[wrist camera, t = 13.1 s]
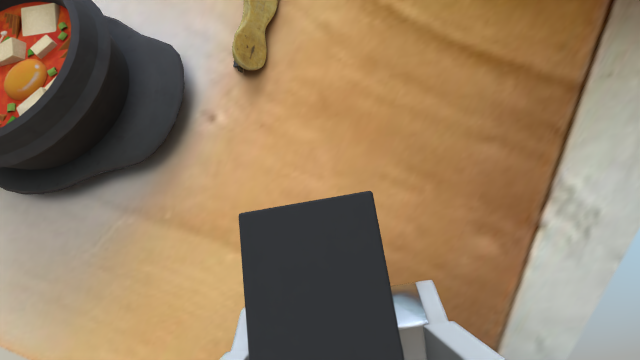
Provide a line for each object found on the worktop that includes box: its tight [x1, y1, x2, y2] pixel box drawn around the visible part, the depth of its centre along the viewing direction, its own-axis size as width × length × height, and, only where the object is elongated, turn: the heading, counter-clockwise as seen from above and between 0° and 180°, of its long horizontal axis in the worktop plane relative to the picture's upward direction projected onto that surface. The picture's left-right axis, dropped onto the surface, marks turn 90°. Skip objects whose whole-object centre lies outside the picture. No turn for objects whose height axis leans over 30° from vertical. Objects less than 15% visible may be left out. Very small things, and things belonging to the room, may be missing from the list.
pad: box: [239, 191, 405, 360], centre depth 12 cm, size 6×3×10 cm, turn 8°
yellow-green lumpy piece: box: [232, 0, 278, 72], centre depth 35 cm, size 3×14×3 cm
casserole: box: [0, 0, 184, 194], centre depth 32 cm, size 25×19×8 cm
